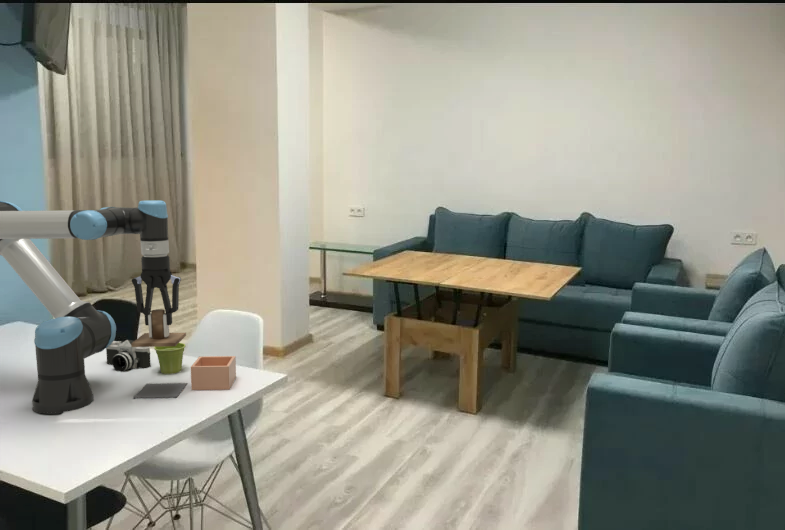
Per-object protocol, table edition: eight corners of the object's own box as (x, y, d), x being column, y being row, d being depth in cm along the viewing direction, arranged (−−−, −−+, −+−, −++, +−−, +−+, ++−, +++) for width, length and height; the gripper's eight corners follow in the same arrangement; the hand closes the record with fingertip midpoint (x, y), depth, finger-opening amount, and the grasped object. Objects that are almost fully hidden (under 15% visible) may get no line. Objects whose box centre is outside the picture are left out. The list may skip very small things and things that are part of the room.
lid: (131, 346, 188) (129, 315, 187) (144, 336, 200) (143, 306, 198) (175, 346, 189) (173, 314, 187) (185, 335, 200) (184, 306, 199)
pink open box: (191, 390, 197) (190, 366, 196) (200, 378, 208) (199, 356, 207) (229, 389, 198) (228, 366, 197) (236, 378, 209) (235, 356, 208)
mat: (133, 398, 190) (133, 396, 190) (146, 384, 202) (146, 383, 202) (177, 397, 191) (176, 396, 191) (187, 384, 203) (187, 383, 202)
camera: (94, 371, 216) (93, 340, 214) (113, 363, 224) (111, 334, 223) (137, 375, 211) (136, 344, 210) (154, 367, 220) (153, 337, 218)
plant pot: (177, 378, 209) (176, 350, 207) (149, 376, 210) (148, 349, 209) (192, 369, 218) (191, 343, 216) (165, 367, 219) (164, 341, 218)
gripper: (120, 257, 187) (125, 339, 190) (181, 256, 187) (185, 339, 191) (129, 253, 194) (134, 333, 197) (188, 253, 195) (191, 332, 198)
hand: (159, 336), depth 194 cm, fingers closed on lid, 3 cm apart
